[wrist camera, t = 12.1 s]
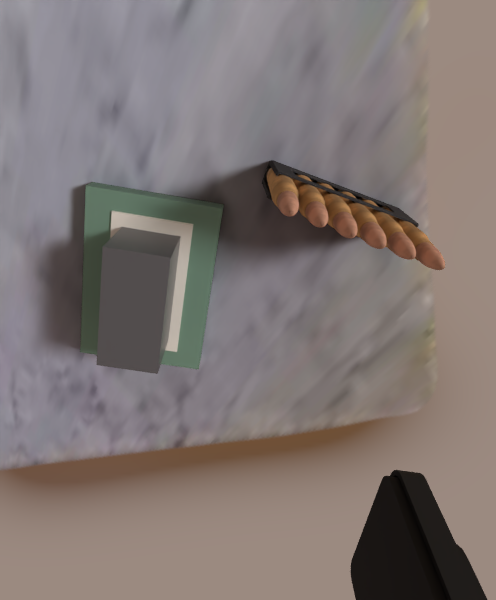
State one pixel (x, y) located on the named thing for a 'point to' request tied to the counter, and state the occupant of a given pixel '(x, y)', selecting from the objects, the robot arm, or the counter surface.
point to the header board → (190, 268)
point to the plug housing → (136, 299)
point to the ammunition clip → (349, 213)
